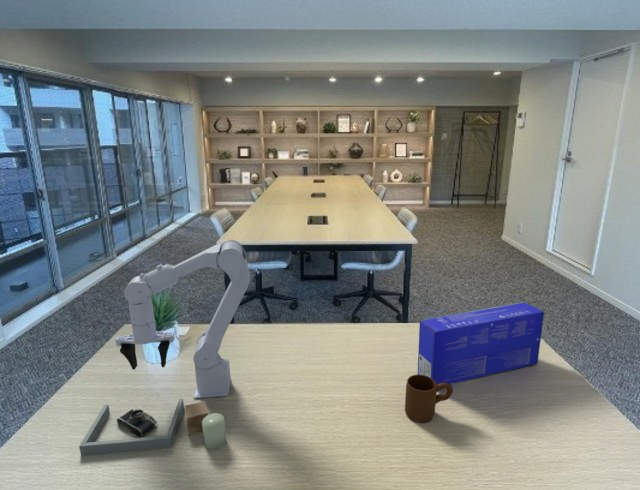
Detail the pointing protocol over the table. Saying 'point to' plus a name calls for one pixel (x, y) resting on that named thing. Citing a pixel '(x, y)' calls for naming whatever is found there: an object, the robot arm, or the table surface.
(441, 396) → the mug
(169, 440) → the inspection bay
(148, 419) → the camera
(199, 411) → the walnut block
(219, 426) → the rounded green capsule
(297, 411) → the table surface
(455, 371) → the toner cartridge box
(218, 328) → the robot arm
